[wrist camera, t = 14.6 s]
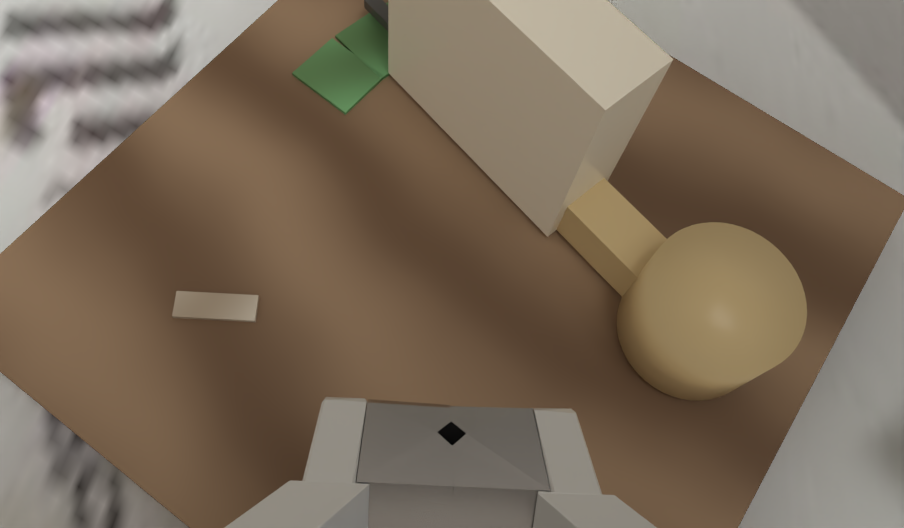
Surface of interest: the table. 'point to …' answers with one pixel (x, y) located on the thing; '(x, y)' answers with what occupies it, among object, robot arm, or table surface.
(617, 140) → the toy meat cleaver
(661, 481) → the brown wooden board
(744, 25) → the table surface
